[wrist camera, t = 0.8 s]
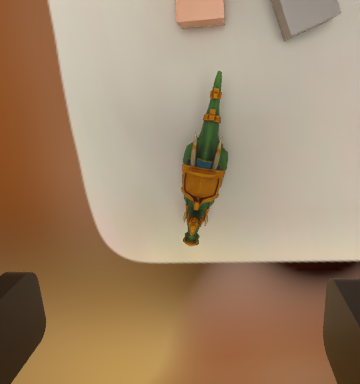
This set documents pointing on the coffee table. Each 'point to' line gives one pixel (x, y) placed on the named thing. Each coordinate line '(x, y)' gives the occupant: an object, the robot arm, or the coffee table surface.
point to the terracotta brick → (199, 13)
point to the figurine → (203, 168)
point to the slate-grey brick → (303, 14)
